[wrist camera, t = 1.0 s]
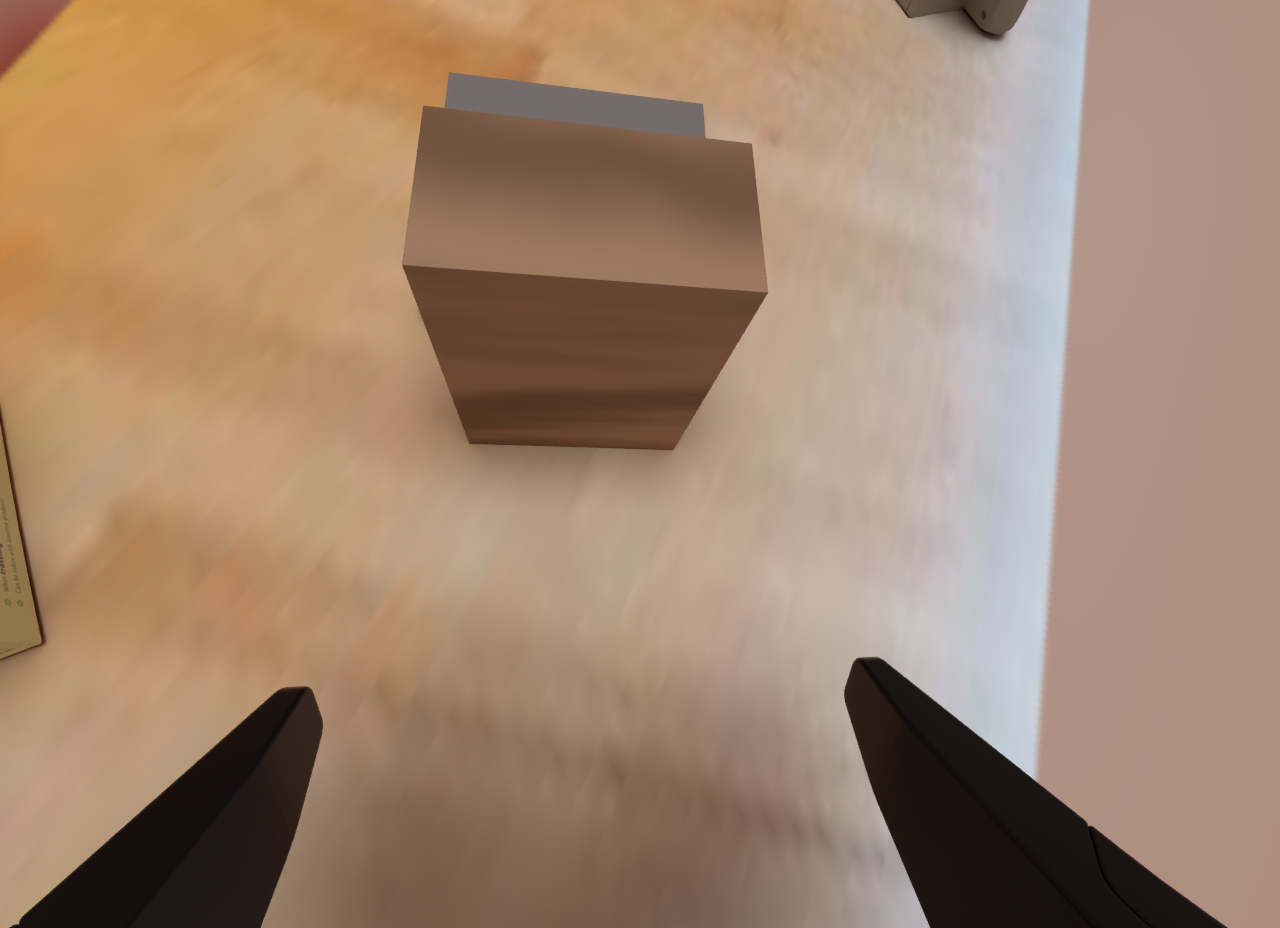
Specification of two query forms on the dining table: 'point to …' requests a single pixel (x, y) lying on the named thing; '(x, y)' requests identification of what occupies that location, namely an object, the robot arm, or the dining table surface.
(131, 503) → the dining table surface
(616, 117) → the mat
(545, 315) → the walnut block
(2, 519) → the box
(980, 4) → the digital clock
